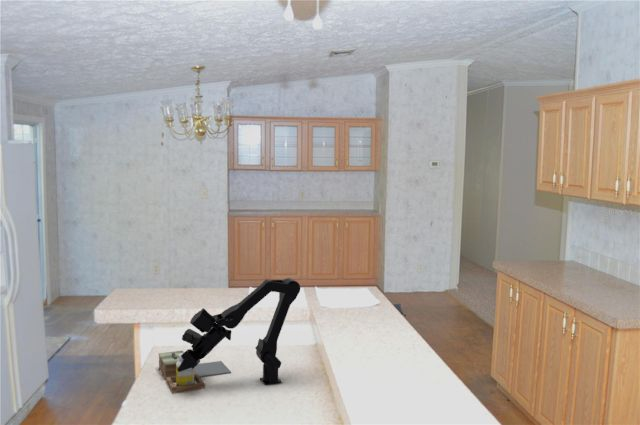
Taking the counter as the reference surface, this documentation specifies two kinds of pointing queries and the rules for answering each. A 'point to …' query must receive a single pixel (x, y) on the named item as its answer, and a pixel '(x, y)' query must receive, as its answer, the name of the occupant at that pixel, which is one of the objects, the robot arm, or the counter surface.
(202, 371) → the slate mat
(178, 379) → the pill bottle
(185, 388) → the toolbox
